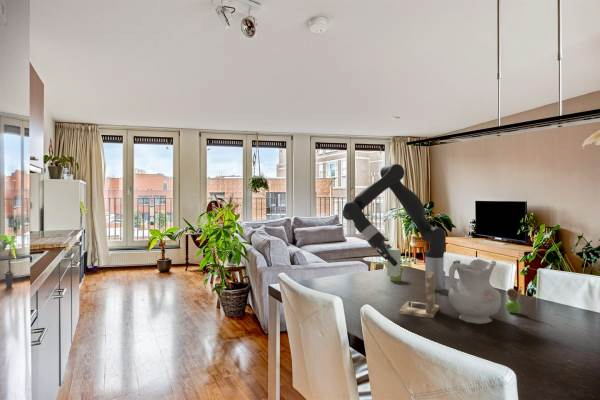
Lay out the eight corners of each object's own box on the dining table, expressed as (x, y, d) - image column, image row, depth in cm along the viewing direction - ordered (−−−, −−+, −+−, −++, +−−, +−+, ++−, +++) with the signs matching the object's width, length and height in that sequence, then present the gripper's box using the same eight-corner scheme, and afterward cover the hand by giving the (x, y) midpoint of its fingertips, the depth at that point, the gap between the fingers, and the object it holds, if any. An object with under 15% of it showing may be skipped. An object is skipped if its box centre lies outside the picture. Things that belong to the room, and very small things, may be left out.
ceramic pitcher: (477, 334, 136) (482, 268, 134) (433, 316, 152) (437, 257, 150) (509, 323, 147) (514, 262, 145) (465, 307, 164) (469, 252, 162)
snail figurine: (517, 316, 152) (517, 287, 152) (502, 312, 158) (502, 284, 158) (525, 314, 155) (525, 286, 154) (510, 310, 160) (510, 282, 160)
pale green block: (387, 275, 167) (387, 249, 167) (390, 273, 172) (391, 247, 172) (397, 276, 165) (397, 250, 165) (400, 274, 170) (400, 248, 170)
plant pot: (403, 282, 212) (403, 267, 212) (387, 281, 215) (386, 267, 215) (403, 279, 221) (403, 264, 221) (387, 278, 224) (387, 264, 224)
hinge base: (398, 313, 157) (398, 275, 157) (407, 303, 171) (407, 269, 171) (433, 318, 151) (433, 279, 150) (439, 307, 165) (439, 272, 164)
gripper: (373, 232, 166) (400, 261, 160) (383, 230, 179) (407, 256, 173) (362, 243, 169) (387, 272, 163) (372, 240, 181) (396, 267, 175)
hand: (397, 264), depth 168 cm, fingers closed on pale green block, 5 cm apart
